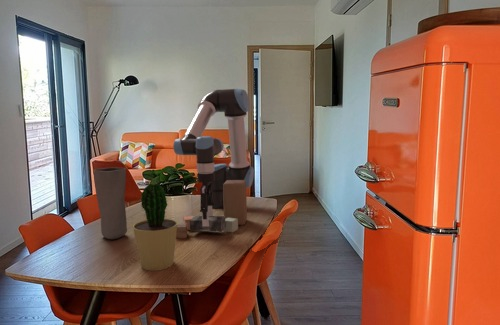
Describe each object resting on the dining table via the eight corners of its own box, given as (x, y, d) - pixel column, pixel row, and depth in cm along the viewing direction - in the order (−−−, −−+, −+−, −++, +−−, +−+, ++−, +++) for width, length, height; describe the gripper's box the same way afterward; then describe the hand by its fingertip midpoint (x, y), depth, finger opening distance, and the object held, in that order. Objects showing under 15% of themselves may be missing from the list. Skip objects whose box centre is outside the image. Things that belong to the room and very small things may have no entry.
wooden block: (247, 219, 205) (246, 179, 202) (244, 225, 195) (244, 183, 192) (227, 219, 206) (226, 179, 203) (223, 225, 196) (222, 183, 193)
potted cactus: (182, 256, 157) (178, 177, 153) (175, 272, 142) (171, 185, 137) (141, 257, 157) (136, 178, 152) (130, 273, 141) (124, 186, 137)
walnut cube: (175, 234, 183) (175, 223, 182) (187, 234, 183) (186, 223, 183) (174, 238, 178) (174, 227, 177) (186, 238, 178) (185, 226, 178)
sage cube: (228, 228, 192) (228, 217, 191) (238, 229, 189) (237, 218, 189) (222, 231, 187) (222, 220, 186) (232, 232, 185) (232, 221, 184)
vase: (93, 237, 180) (88, 169, 176) (119, 231, 189) (115, 166, 185) (107, 244, 172) (103, 172, 168) (134, 236, 181) (130, 168, 177)
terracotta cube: (183, 227, 194) (183, 217, 193) (194, 226, 195) (193, 215, 195) (185, 230, 189) (185, 219, 188) (196, 229, 191) (196, 218, 190)
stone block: (196, 225, 190) (196, 213, 189) (226, 226, 187) (226, 215, 186) (189, 230, 181) (189, 219, 180) (221, 232, 178) (221, 220, 177)
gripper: (202, 168, 190) (204, 216, 194) (191, 176, 170) (193, 230, 173) (218, 168, 190) (220, 216, 193) (209, 176, 169) (211, 230, 172)
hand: (207, 222), depth 183 cm, fingers closed on stone block, 8 cm apart
